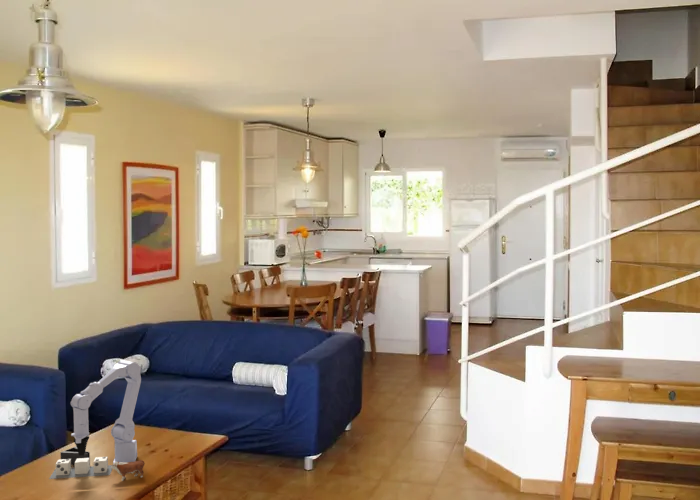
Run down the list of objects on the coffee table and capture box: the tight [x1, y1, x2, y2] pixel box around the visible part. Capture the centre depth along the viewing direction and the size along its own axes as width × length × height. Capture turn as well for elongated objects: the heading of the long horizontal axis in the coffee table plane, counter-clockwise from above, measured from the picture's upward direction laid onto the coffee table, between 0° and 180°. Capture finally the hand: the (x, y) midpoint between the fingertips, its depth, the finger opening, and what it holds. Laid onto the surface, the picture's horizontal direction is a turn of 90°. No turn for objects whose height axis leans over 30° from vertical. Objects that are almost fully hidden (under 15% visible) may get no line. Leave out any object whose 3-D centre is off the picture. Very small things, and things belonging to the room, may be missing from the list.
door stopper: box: [60, 445, 91, 466], centre depth 315 cm, size 9×6×12 cm
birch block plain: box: [74, 458, 91, 474], centre depth 305 cm, size 5×5×5 cm
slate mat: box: [48, 464, 113, 480], centre depth 305 cm, size 24×12×1 cm, turn 100°
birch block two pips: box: [93, 456, 109, 473], centre depth 306 cm, size 5×5×5 cm
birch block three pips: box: [55, 458, 72, 475], centre depth 303 cm, size 5×5×5 cm
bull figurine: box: [111, 459, 146, 482], centre depth 297 cm, size 4×13×8 cm, turn 114°
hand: (81, 454), depth 304 cm, fingers closed
